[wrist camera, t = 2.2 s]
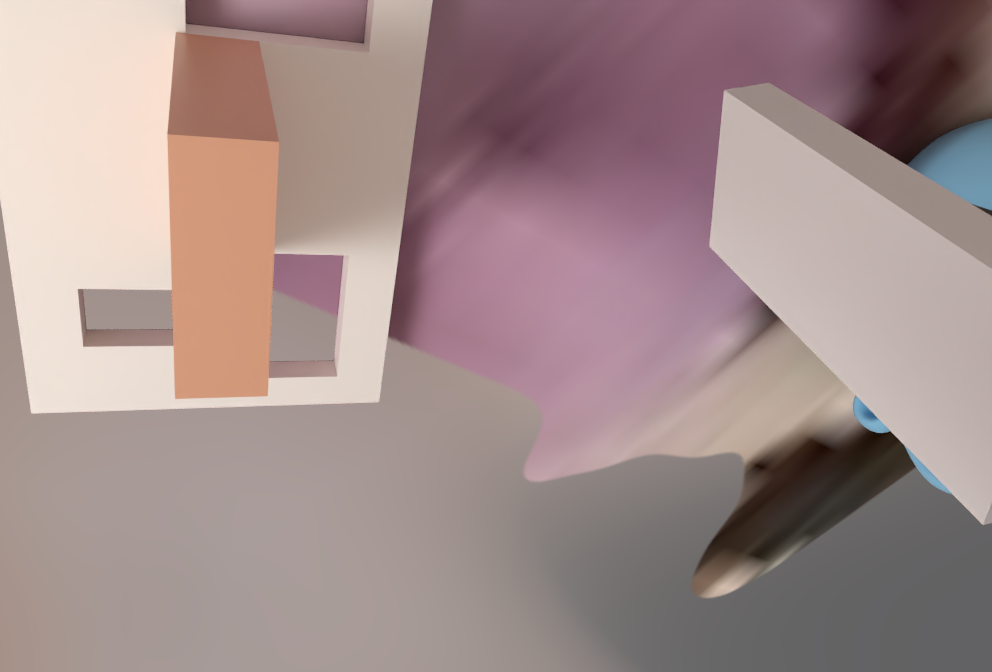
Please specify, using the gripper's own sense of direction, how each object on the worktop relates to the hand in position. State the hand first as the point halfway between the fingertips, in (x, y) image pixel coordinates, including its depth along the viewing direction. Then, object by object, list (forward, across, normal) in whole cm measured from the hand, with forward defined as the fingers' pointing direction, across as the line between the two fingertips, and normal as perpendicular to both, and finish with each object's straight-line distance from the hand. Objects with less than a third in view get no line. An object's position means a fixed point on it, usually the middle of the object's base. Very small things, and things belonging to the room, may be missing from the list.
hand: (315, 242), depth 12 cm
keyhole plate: (+20, -3, -5) cm, 20 cm away
